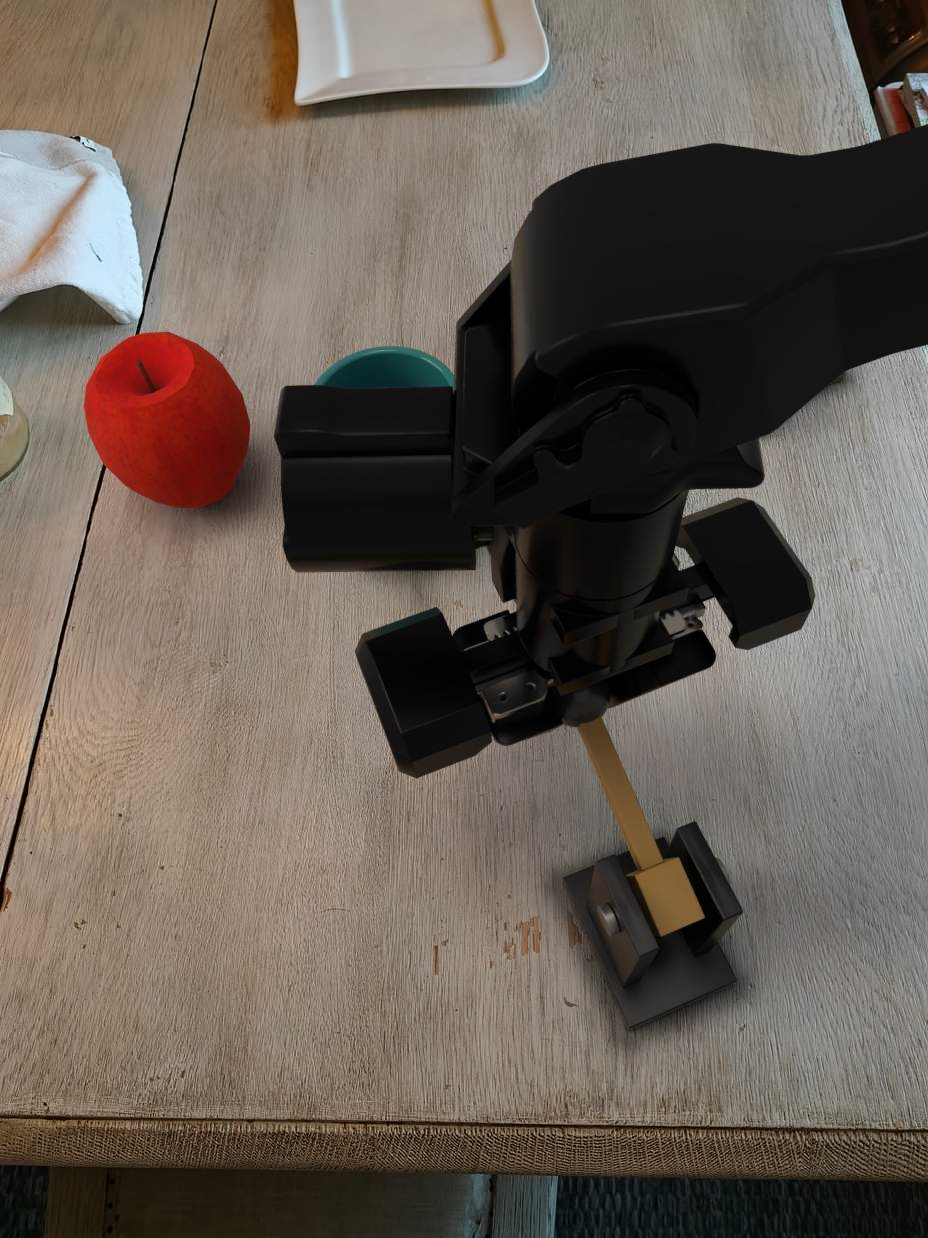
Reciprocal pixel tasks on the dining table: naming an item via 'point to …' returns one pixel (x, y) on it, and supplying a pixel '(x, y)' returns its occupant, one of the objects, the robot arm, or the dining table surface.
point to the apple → (167, 419)
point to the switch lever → (630, 815)
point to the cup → (387, 369)
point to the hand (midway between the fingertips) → (575, 711)
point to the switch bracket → (628, 949)
